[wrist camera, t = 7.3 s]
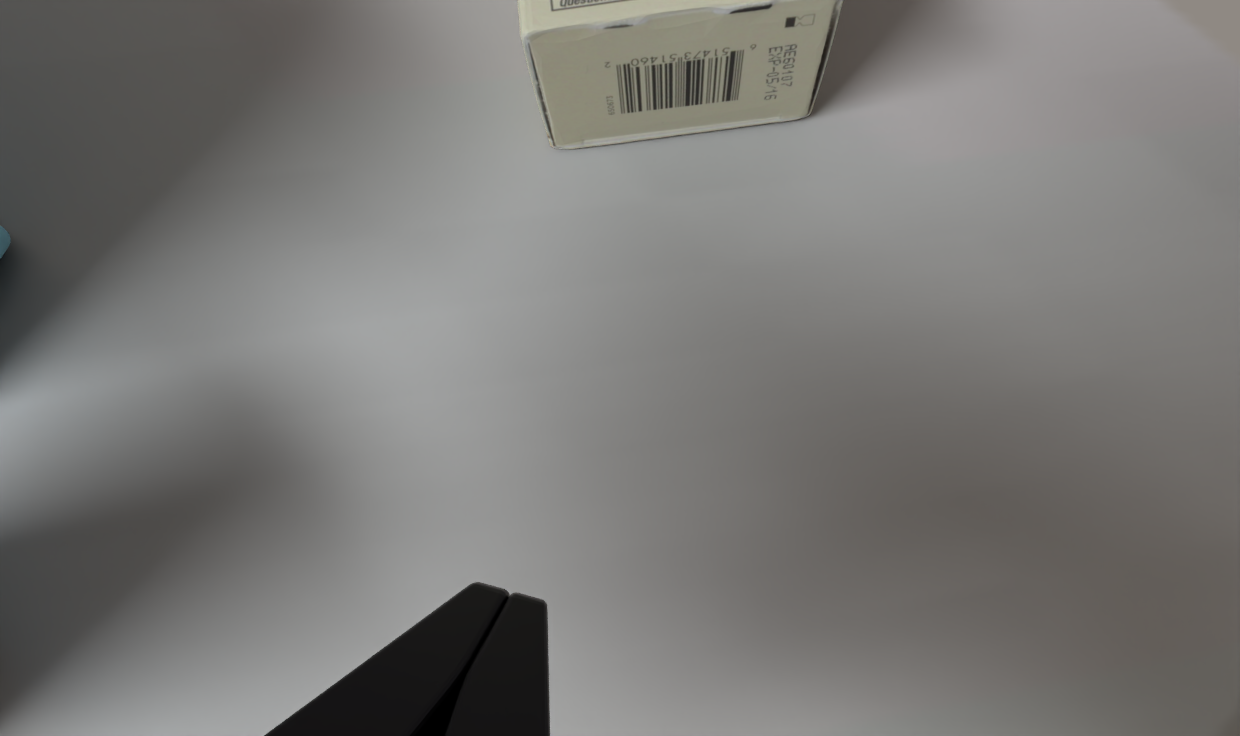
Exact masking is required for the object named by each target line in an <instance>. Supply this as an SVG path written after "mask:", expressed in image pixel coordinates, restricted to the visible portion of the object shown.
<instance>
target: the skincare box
mask: <svg viewBox="0 0 1240 736" xmlns="http://www.w3.org/2000/svg"><path fill="white" fill-rule="evenodd" d="M843 1H844V0H517V2H518V13H519V25H520V36H521V41H522V45H523V49H524V53H525V57H526V62H527V66H528V70H529V74H530V77H531V81H532V84H533V88H534V92H535V95H536V99H537V103H538V106H539V110H540V114H541V117H542V120H543V123H544V126H545V129H546V133H547V136H548V139H549V143H550V145H551V147H552V148H554V149H577V148H585V147H593V146H603V145H609V144H617V143H624V142H632V141H639V140H647V139H655V138H663V137H670V136H676V135H684V134H692V133H700V132H708V131H715V130H723V129H731V128H738V127H746V126H753V125H760V124H767V123H775V122H784V121H791V120H797V119H800V118H804V117H807V116H809V115H810V114H811V112H812V109H813V106H814V103H815V100H816V97H817V94H818V91H819V88H820V84H821V81H822V78H823V75H824V71H825V68H826V65H827V61H828V58H829V54H830V50H831V47H832V43H833V40H834V36H835V32H836V28H837V24H838V20H839V16H840V12H841V8H842V4H843Z"/></svg>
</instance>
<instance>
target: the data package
mask: <svg viewBox="0 0 1240 736" xmlns="http://www.w3.org/2000/svg"><path fill="white" fill-rule="evenodd" d="M10 242H11V239H10V235H9V233H8V232H7V231H6V230H5V229H4V228H3V227H2V226H0V259H1V257H2V256H3V254H4V253H5V251H6V250H7V248H8V247H9V245H10Z"/></svg>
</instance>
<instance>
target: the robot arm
mask: <svg viewBox="0 0 1240 736" xmlns="http://www.w3.org/2000/svg"><path fill="white" fill-rule="evenodd" d="M264 736H550V711H549V663H548V614H547V604H546V602H545V601H544V600H542V599H538V598H535V597H531V596H527V595H524V594H520V593H513V594H511V595H509V593H508V591H507V590H505V589H502V588H498V587H495V586H491V585H488V584H484V583H480V582H476V583H472V584H470V585H469V586H467V587H466V588H465V589H463V590H462V591H461V592H459V593H458V594H457V595H455V596H454V597H452V598H451V599H450V600H448V601H447V602H446V603H444V604H443V605H442V606H440V607H439V608H437V609H436V610H435V611H433V612H432V613H431V614H429V615H428V616H427V617H425V618H424V619H422V620H421V621H420V622H418V623H417V624H416V625H414V626H413V627H412V628H410V629H409V630H407V631H406V632H405V633H403V634H402V635H401V636H399V637H398V638H397V639H395V640H394V641H392V642H391V643H390V644H388V645H387V646H386V647H384V648H383V649H382V650H380V651H379V652H377V653H376V654H375V655H373V656H372V657H371V658H369V659H368V660H367V661H365V662H364V663H363V664H361V665H360V666H358V667H357V668H356V669H354V670H353V671H352V672H350V673H349V674H348V675H346V676H345V677H343V678H342V679H341V680H339V681H338V682H337V683H335V684H334V685H333V686H331V687H330V688H328V689H327V690H326V691H324V692H323V693H322V694H320V695H319V696H318V697H316V698H315V699H313V700H312V701H311V702H309V703H308V704H307V705H305V706H304V707H303V708H301V709H300V710H298V711H297V712H296V713H294V714H293V715H292V716H290V717H289V718H288V719H286V720H285V721H284V722H282V723H281V724H279V725H278V726H277V727H275V728H274V729H273V730H271V731H270V732H269V733H267V734H266V735H264Z"/></svg>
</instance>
